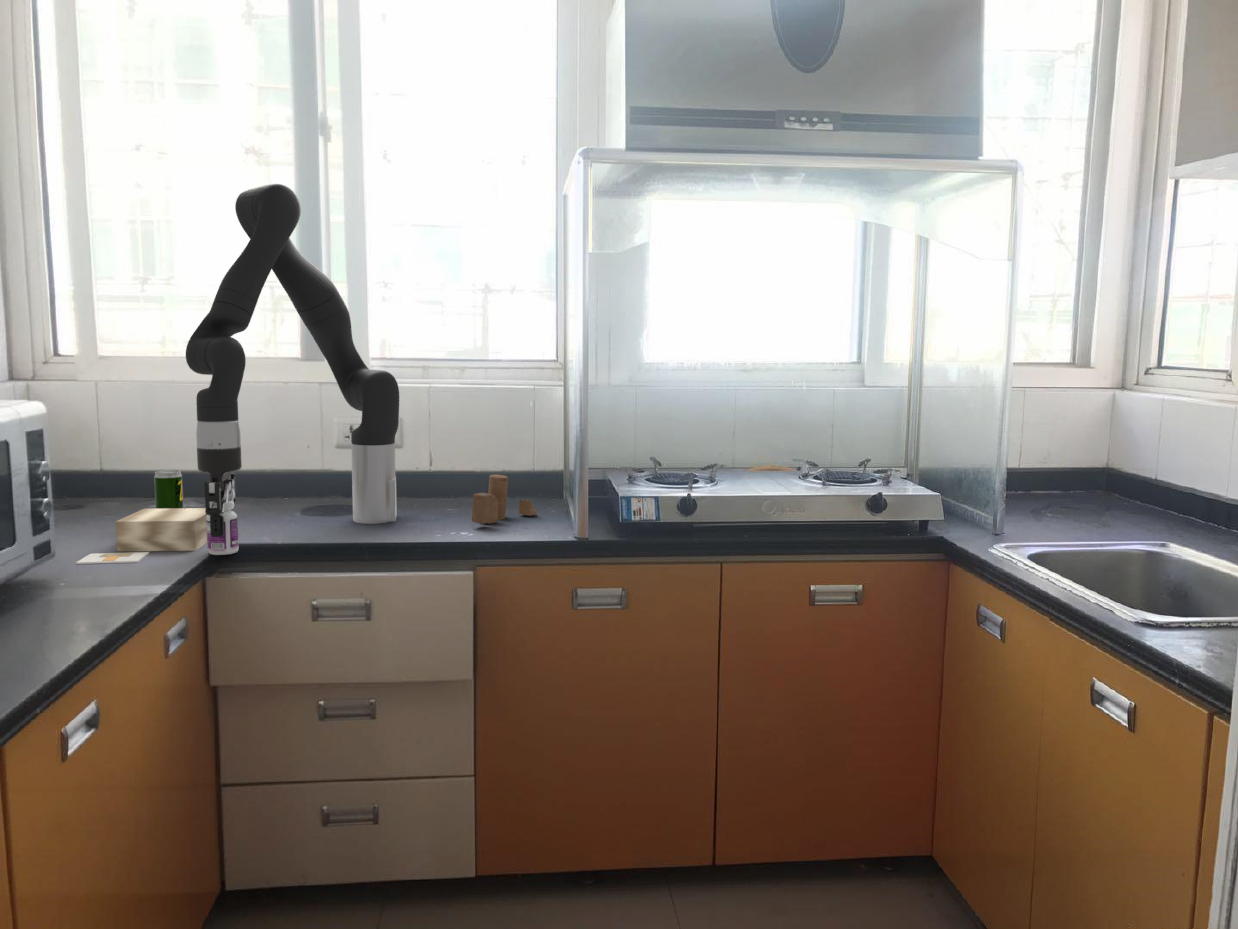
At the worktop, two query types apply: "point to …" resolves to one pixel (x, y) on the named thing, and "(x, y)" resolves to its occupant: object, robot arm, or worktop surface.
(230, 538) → the pill bottle
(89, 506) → the worktop surface
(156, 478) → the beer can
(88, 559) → the card
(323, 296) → the robot arm
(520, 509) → the wooden block set
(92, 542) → the worktop surface
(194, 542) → the birch block
